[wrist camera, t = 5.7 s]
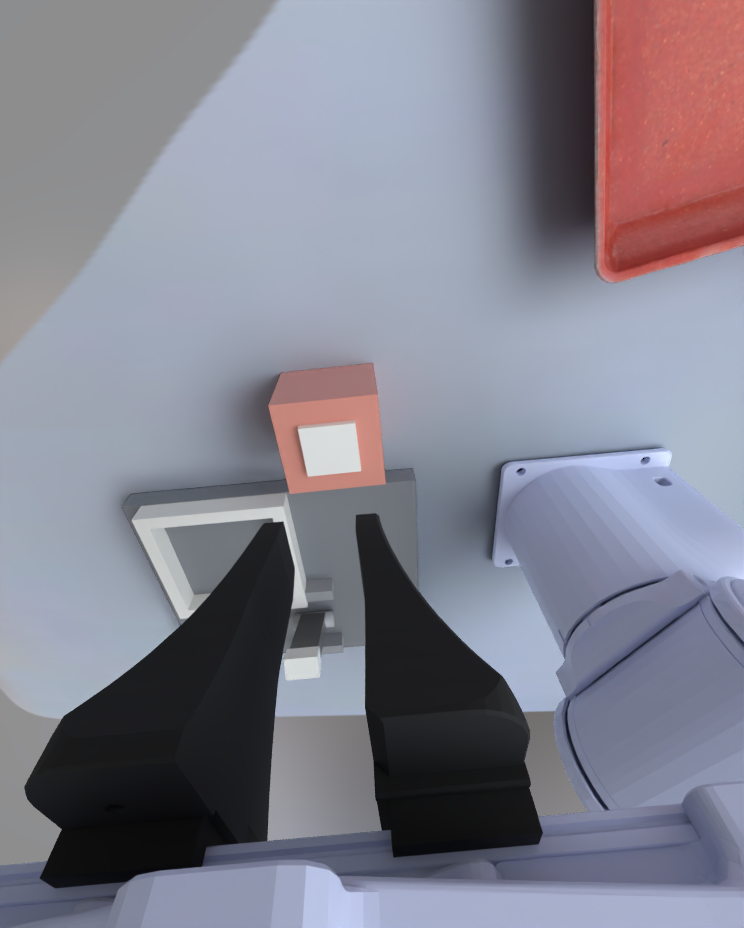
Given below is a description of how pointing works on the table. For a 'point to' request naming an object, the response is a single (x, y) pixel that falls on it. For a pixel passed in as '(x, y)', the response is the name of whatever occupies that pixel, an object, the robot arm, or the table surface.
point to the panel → (309, 535)
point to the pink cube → (328, 428)
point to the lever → (307, 645)
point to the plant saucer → (667, 133)
